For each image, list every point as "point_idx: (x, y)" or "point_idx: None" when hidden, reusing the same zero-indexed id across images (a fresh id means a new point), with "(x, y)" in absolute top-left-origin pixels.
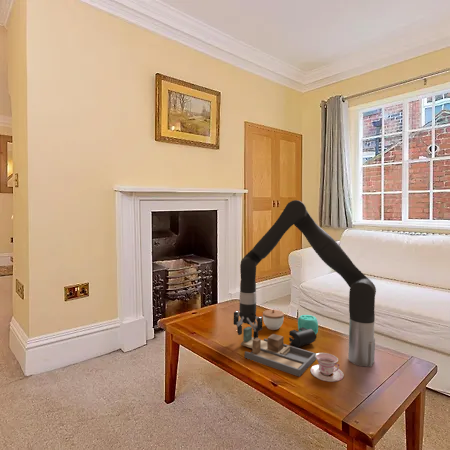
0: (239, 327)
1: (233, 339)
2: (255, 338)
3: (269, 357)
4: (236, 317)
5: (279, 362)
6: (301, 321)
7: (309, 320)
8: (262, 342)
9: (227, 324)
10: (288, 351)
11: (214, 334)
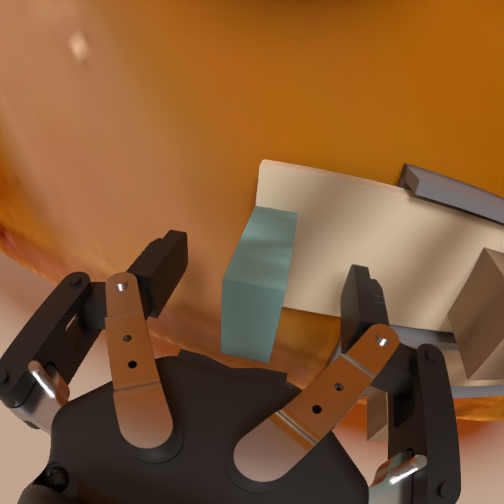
0: (156, 316)
1: (145, 199)
2: (381, 429)
3: (449, 373)
4: (64, 371)
5: (480, 393)
6: None
7: None
8: (407, 237)
9: (11, 32)
10: None
11: (39, 196)
